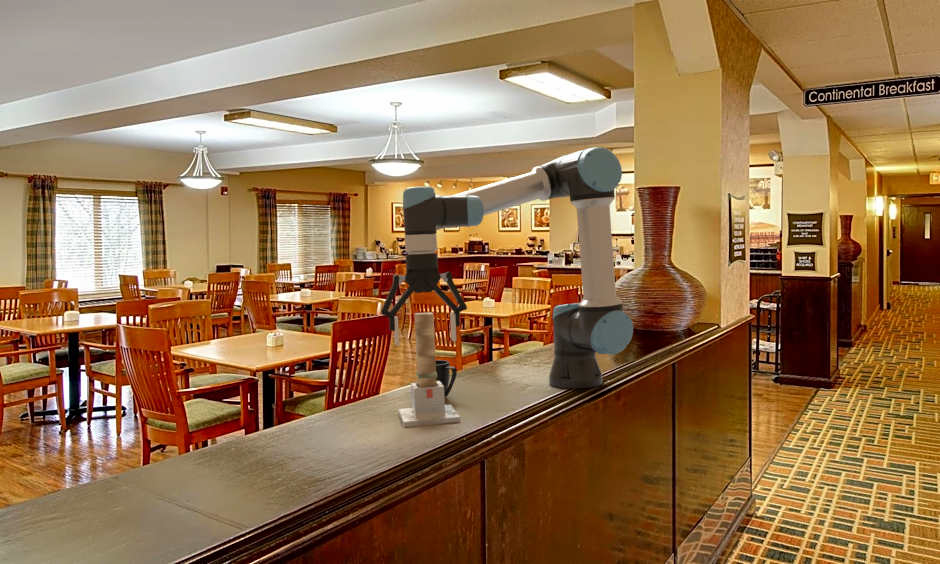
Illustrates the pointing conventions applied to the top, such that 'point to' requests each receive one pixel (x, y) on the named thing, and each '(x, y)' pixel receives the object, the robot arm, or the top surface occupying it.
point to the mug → (445, 375)
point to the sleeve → (428, 407)
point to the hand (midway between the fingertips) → (425, 342)
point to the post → (425, 349)
